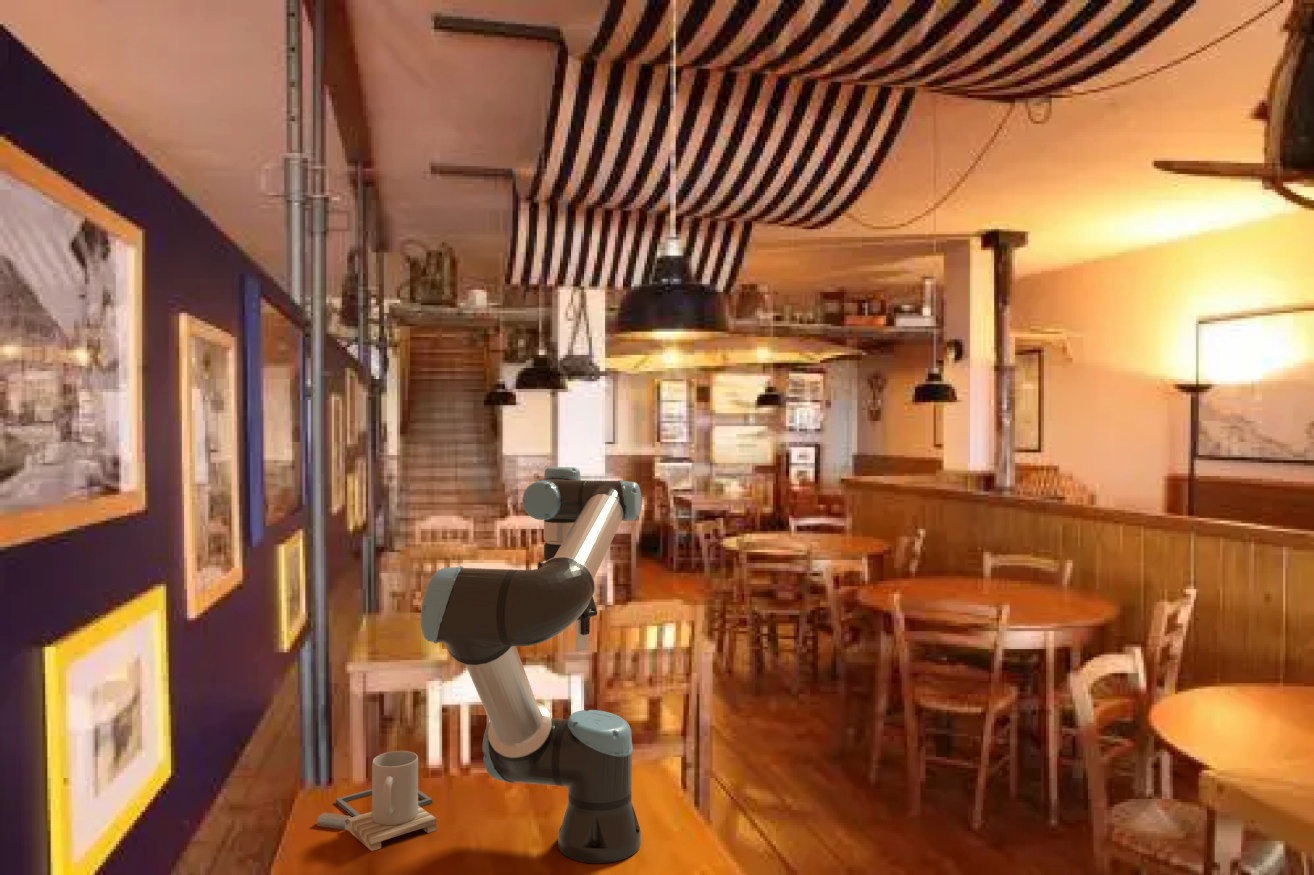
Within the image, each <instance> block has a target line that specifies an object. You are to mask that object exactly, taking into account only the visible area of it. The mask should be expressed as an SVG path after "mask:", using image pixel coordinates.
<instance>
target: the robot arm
mask: <svg viewBox="0 0 1314 875" xmlns="http://www.w3.org/2000/svg"><path fill="white" fill-rule="evenodd" d="M543 476H544V478H543V479H538V480H536V481H535V482H533V483H531V484H529V485H528V486H527V487H526V488H525V490H524V492H523V494H522V495H523V496H522V507H523V509H524V511H525V512H526V514H527V515H528V516H529V517H531V518H532V519H533V520H538V521H542V520H543V540H544V541H545V543H544V544H543V560H544V561H538V563H537V568H535V569H512V568H511V569H508V568H507V569H506V568H480V567H479V568H475V567H474V568H472V567H463V566H462V565H460V566H458V567H454V566H453V567H443V568H441V569H438V570H437V571H435V573H434V574H433V575H432V576H431V578H430V580H429V582H428V584H427V586H426V589H425V591H424V595H423V599H422V604H421V610H420V611H421V612H420V628H421V633H422V634H421V635H422V636H423V638H424V639H425V640H426V641H428V642H431V643H434V644H438V643H443V644H445V647H446V648H447V650H448V653H449V655H450V656H451V657H452V659H453V660H455V661H456V662H457V663H460V664H462V665H464V666H465V668H466V669H467V671H468V675H469V676H470V678H471V681H472V684H473V685H474V687H475V690H476V692H477V695H478V697H479V699H480V702H481V704H482V706H483V708H484V710H485V711H484V712H485V713H486V715H487V717H488V720H489V722H488V724H487V725H486V727H485V731H484V734H483V738H482V739H483V740H482V753H483V754H484V755H483V757H482V759H483V764H484V767H485V769H486V771H487V773H488V774H489V775H490V776H491V777H492V778H493V779H495V780H498V781H503V782H506V783H510V784H512V783H513V784H514V783H515V784H516V783H519V784H520V783H521V784H532V785H533V784H534V785H542V786H543V785H546V786H558V787H566V788H567V791H568V794H567V795H568V798H567V799H568V801H567V806H566V808H565V811H564V815H563V818H562V822H561V826H560V827H559V830H558V836H557V837H558V841H557V843H558V846H557V847H558V849H559V851H560V853H562V854H563V855H564V856H565V857H567V858H569V859H571V860H573V861H577V862H581V863H587V864H609V863H615V862H618V861H622V860H624V859H627V858H630V857H631V856H633V855H634V854H636V853H637V852H638V851H639V849H640V848H641V844H642V840H641V839H642V838H641V836H642V835H641V833H642V832H641V827H640V825H639V820H638V817H637V815H636V810H635V808H634V806H633V805H634V804H633V801H632V798H633V797H632V793H633V792H632V787H633V786H632V785H633V783H632V781H633V772H632V771H633V751H634V747H633V740H632V737H633V736H632V729H631V726H630V724H629V723H628V722H627V721H626V720H625V719H623V718H622V717H621V716H619V715H618V714H615V713H612V712H608V711H604V710H599V709H598V710H597V709H588V710H585V709H584V710H582V709H581V710H577V711H575V712H573V713H571V714H570V715H569V717H568V719H565V718H553V717H552V716H551V714H550V712H549V710H548V709H547V707H546V706H545V705H544V704H542V703H541V702H539V701H537V700H536V697H535V694H534V692H533V689H532V686H531V685H530V684H531V683H530V681H529V678H528V675H527V673H526V670H525V668H524V665H523V663H522V659H521V656H520V654H519V651H518V649H517V647H519V648H520V647H521V648H525V647H531V646H535V645H539V644H542V643H544V642H547V641H549V640H551V639H553V638H555V637H557V635H559V634H561V633H562V632H563V631H565V630H566V629H567V628H569V627H570V626H571V625H573V624H574V623H575V652H582V651H587V650H589V634H590V632H591V631H590V630H591V629H590V627H591V624H590V623H591V621H590V620H591V618H592V617H596V616H597V615H598V610H597V607H596V606H597V605H596V604H595V603H596V602H595V600H594V597H593V596H594V594H595V590H596V589H595V588H596V587H595V586H596V585H595V578H596V575H597V573H598V571H599V568H600V567H601V566H602V562H603V561H604V558H605V556H606V554H607V552H608V550H609V547H610V546H611V544H612V541H613V539H614V537H615V535H616V533H617V530H618V528H619V527H620V525H621V522H622V521H624V522H627V521H635V520H638V518H639V517H640V514H641V508H642V494H641V488H640V485H639V484H638V483H637V482H635V481H628V480H627V481H626V480H625V481H624V480H621V479H619V480H587V479H586V480H582V478H581V471H580V469H579V468H577V467H572V466H571V467H569V466H568V467H567V466H565V467H564V466H559V467H558V466H554V467H553V466H552V467H547V468H546V469H545V470H544V475H543Z"/></svg>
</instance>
